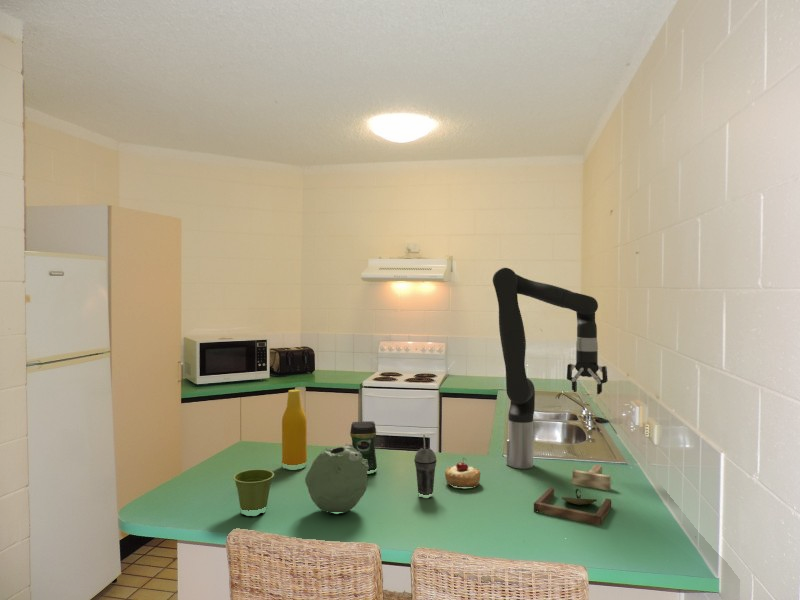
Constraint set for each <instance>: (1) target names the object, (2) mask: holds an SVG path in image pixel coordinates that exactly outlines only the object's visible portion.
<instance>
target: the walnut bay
mask: <svg viewBox="0 0 800 600" xmlns="http://www.w3.org/2000/svg"><path fill="white" fill-rule="evenodd" d="M554 497H555V488H554V487H549V488H547V489H546V490H545V492H544V493H542V494H541V495H540V496H539V497H538V498H537V499H536V500H535V501H534V502H533V512H534V511H538V512H542V513H541V514H543V513H546V514H545V515H547V514H550V515H549V516H552V515H553V516H552V517H557V518H562V519H566V520H571V521H576V522H581V523H585V524H589V525H593V526H599V527H600V526H601V525H602V523H603V521H604V520H605V519H606V517H607V515H608V513H610V511H611V509H612V499H611V498H606V497H605V499H604V501H602V502H603V503H602V504H601V505H600V506H599V508H598V509H597V511H596V513H593V512H588V511H583V510H578V509H574V508H567V507H564V506H558V505H553V504H549V502H550V501H551V500H552V499H553V498H554ZM538 512H537V513H538Z"/></svg>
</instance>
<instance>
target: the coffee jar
mask: <svg viewBox="0 0 800 600" xmlns="http://www.w3.org/2000/svg"><path fill="white" fill-rule="evenodd" d="M349 434H350V435H349V436H350V438H351V445H353V448H354V449H356V450H357V451H360V453H361V454H362V458H364V459H367V460H368V466H369V469H368V471H370V470H375V469H376V468H377V469H378V464H377V457H376V456H377V455H376V445H375V444H376V443H375V438H376V436H377V428H376V423H375V421H370V420H369V421H366V420H365V421H353V422H352V423H351V426H350V432H349Z"/></svg>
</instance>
